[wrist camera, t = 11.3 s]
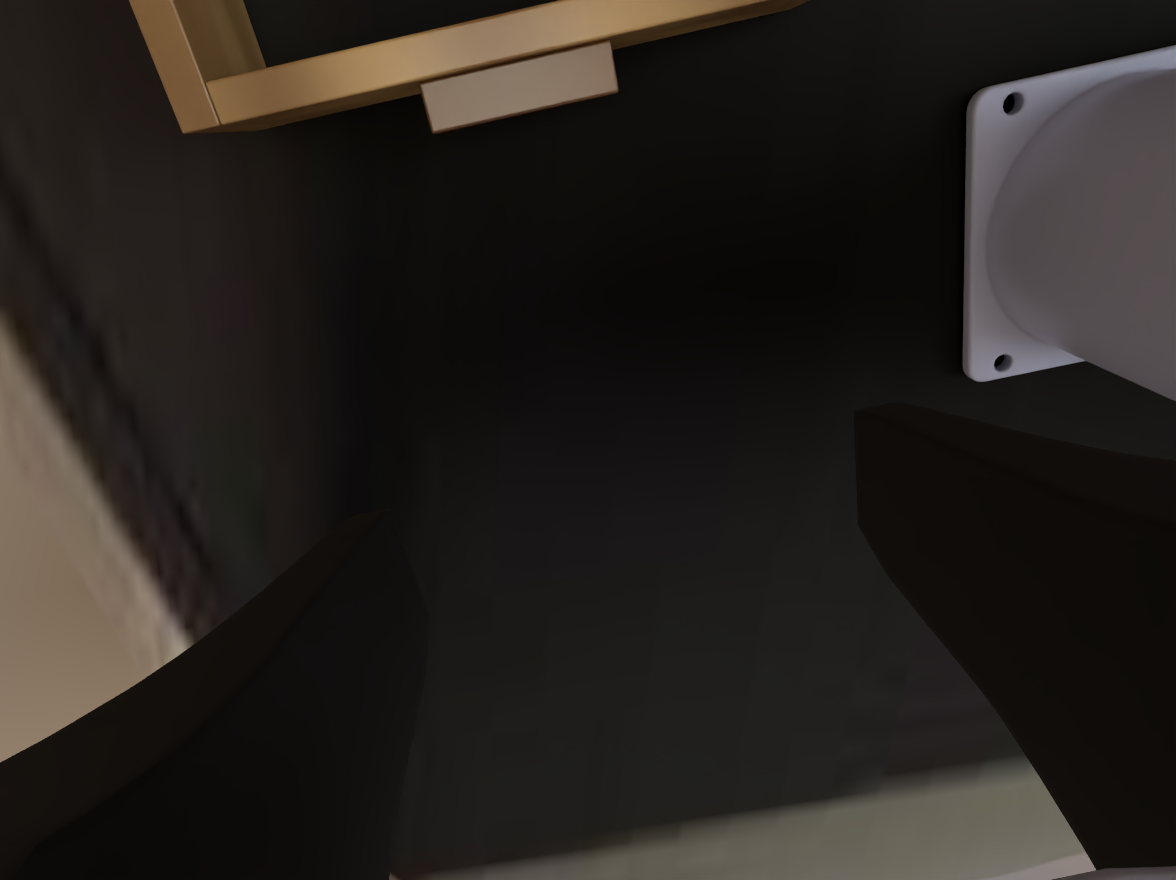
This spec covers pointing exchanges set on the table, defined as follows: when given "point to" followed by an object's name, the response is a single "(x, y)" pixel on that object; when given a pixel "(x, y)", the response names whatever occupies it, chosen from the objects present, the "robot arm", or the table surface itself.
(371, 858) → the robot arm
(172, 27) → the wooden tray
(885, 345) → the table surface
